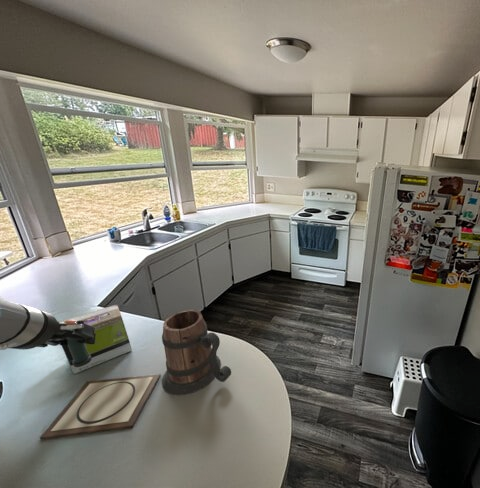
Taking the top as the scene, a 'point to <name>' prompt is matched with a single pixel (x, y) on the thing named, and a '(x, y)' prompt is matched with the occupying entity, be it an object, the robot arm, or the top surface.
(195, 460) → the top surface
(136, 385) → the sketch board
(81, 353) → the dot stamp
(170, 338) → the tankard
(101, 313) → the tea box
